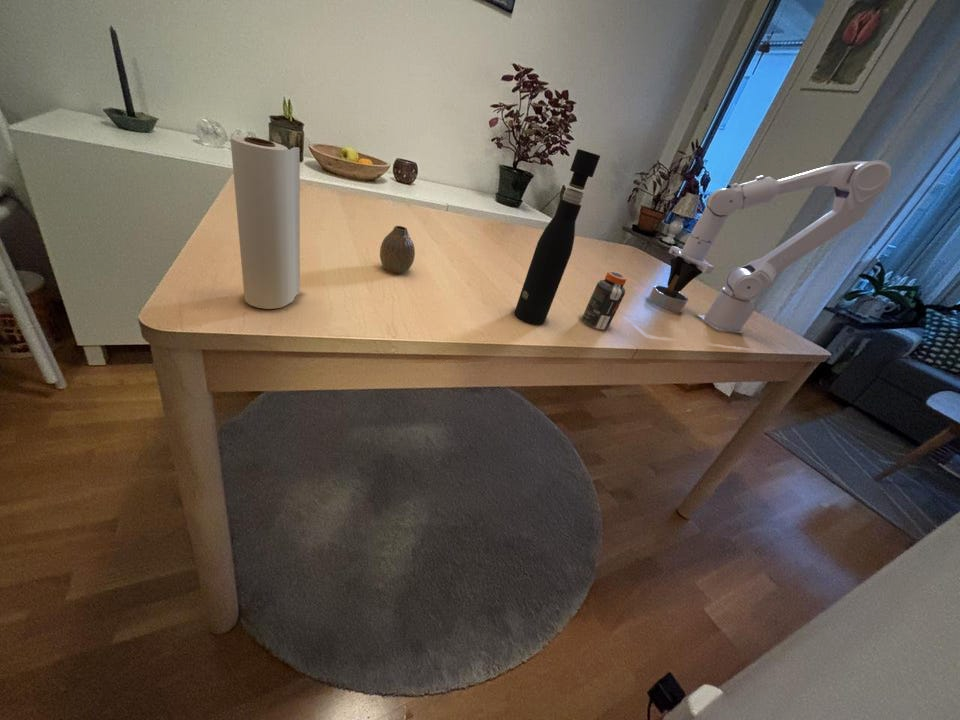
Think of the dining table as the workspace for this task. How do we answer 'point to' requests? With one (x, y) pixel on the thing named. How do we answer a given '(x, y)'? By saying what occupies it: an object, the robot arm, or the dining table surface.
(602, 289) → the pill bottle
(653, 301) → the tin
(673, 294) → the stick
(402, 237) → the vase
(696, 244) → the robot arm
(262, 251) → the paper towel roll
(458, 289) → the dining table surface
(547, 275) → the black water bottle
